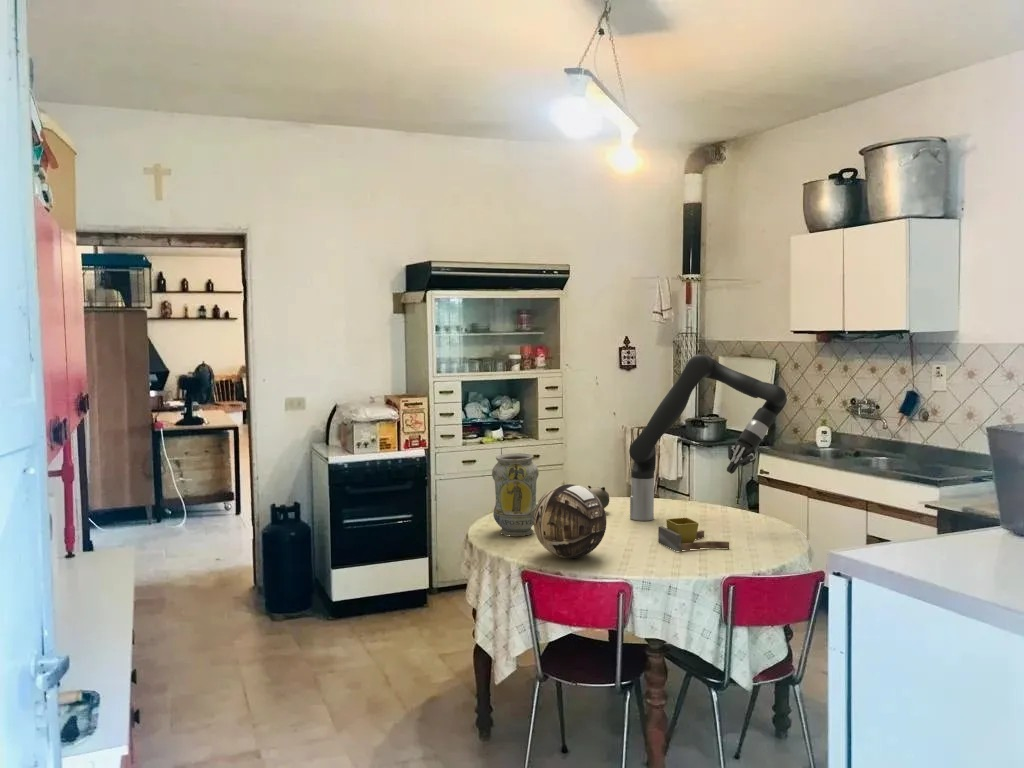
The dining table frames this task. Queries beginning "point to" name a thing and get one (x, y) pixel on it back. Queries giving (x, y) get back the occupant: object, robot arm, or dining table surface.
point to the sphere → (569, 521)
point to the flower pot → (684, 528)
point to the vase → (515, 493)
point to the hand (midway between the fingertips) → (729, 472)
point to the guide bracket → (674, 542)
